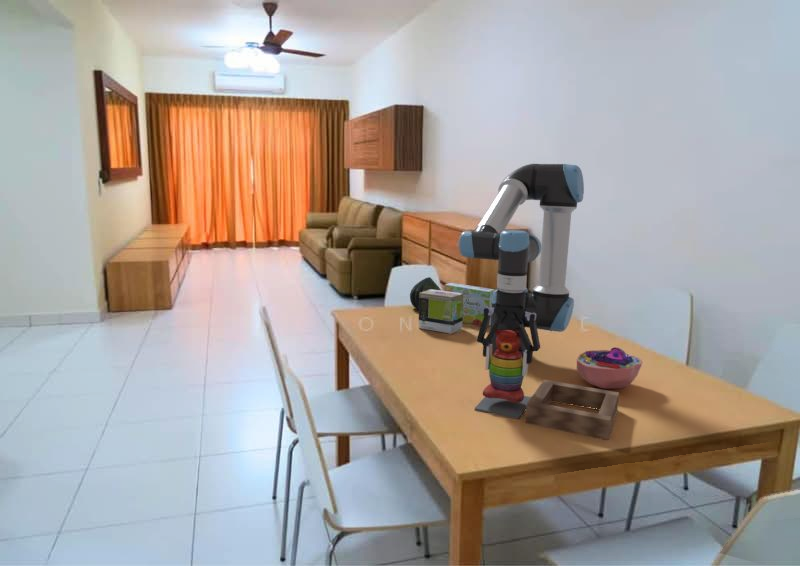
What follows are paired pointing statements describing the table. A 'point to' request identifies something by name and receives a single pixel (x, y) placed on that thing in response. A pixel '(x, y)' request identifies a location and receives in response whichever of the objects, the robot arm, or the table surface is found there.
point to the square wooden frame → (569, 418)
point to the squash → (421, 290)
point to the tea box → (441, 311)
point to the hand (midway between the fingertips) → (506, 371)
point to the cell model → (608, 368)
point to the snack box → (473, 301)
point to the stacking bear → (506, 368)
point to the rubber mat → (503, 407)
